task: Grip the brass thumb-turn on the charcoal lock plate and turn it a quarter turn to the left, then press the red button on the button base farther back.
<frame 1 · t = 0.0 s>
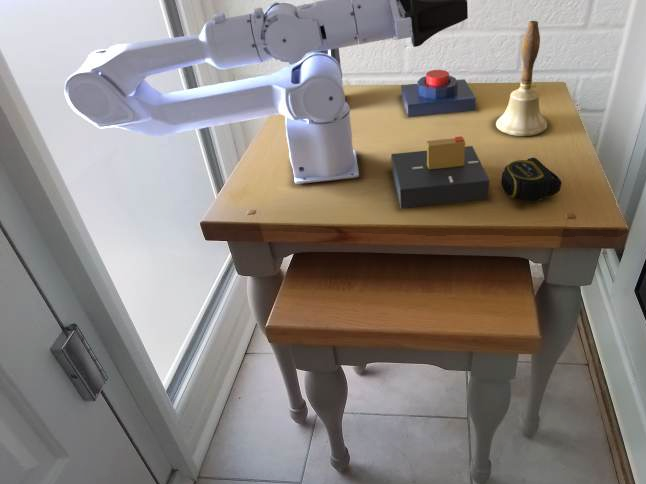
hand: (460, 0, 68), 22 cm above the table, tool horizontal, fingers open, 7 cm apart
bell button: (437, 78, 94), point 4 cm above the table, slide at 0.1 cm
battery charger: (332, 105, 100), on the table
tape measure: (528, 192, 74), on the table
lock plate: (437, 185, 76), on the table
lock knob: (445, 152, 73), point 5 cm above the table, hinge at 0.0°
button base: (437, 103, 97), on the table
hand bell: (521, 126, 89), on the table
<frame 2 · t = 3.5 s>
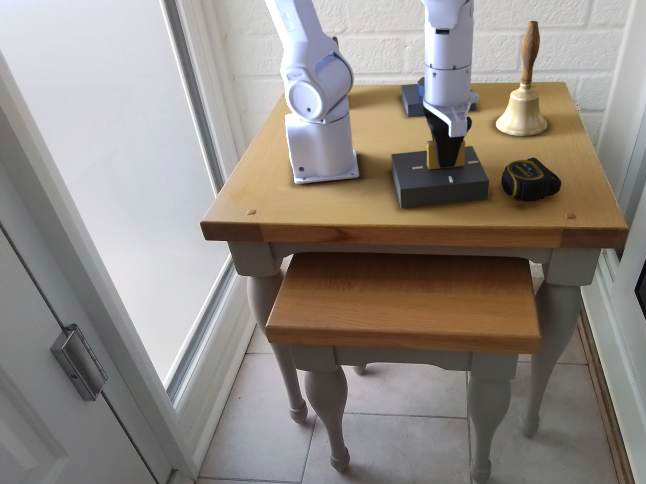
hand: (445, 162, 74), 4 cm above the table, tool pointing down, fingers closed on lock knob
lock knob: (445, 152, 73), point 5 cm above the table, hinge at 0.0°, touching gripper
everything else where it was.
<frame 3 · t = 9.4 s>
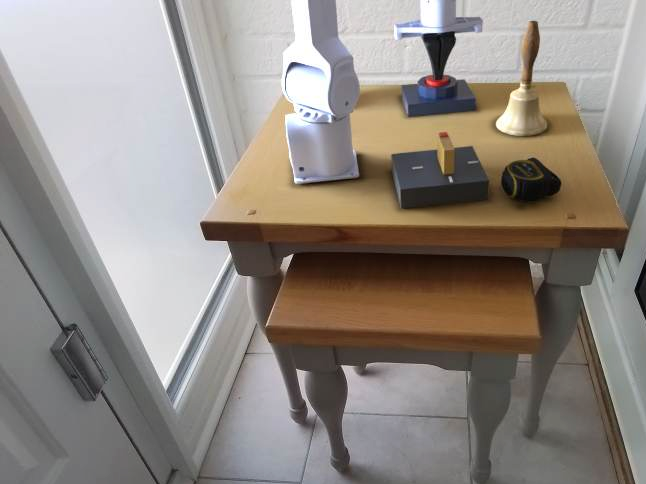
hand: (437, 78, 94), 5 cm above the table, tool pointing down, fingers closed, pressing on bell button
bell button: (437, 83, 95), point 4 cm above the table, slide at -0.7 cm, touching gripper
lock knob: (445, 152, 73), point 5 cm above the table, hinge at 89.3°
everything else where it was.
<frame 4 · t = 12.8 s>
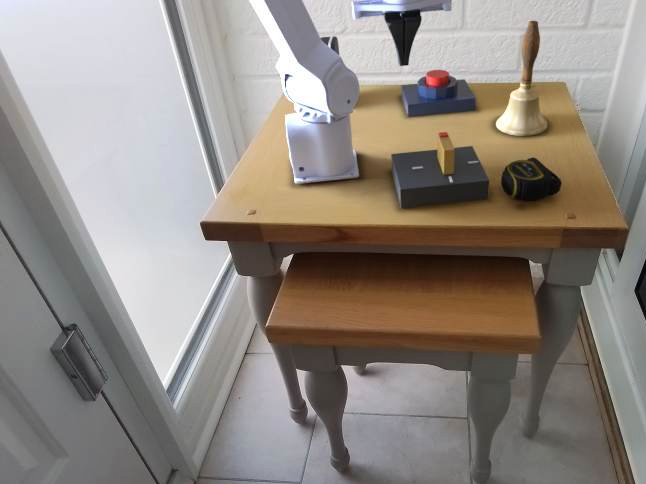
hand: (403, 63, 84), 10 cm above the table, tool pointing down, fingers closed
bell button: (437, 78, 94), point 4 cm above the table, slide at 0.1 cm
everything else where it was.
at the end: lock knob at +89° (first picture: +0°); bell button pushed in 1.2 cm at the most during the clip, back to where it started at the end; bell button slide at 0.1 cm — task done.
